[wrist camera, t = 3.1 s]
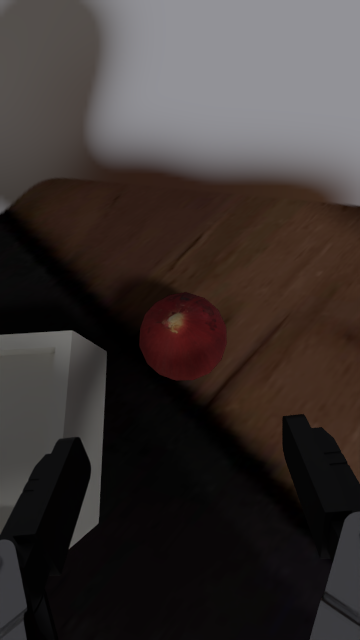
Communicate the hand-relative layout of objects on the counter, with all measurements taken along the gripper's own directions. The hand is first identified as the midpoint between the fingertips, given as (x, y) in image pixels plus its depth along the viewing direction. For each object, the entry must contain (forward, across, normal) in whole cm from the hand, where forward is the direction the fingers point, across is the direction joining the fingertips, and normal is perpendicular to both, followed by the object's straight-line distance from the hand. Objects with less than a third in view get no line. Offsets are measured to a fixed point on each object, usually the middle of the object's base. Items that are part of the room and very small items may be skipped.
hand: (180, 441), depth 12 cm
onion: (+12, 0, +3) cm, 12 cm away
